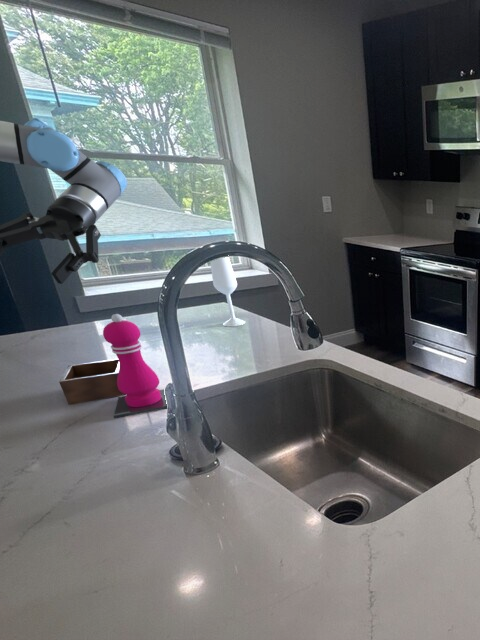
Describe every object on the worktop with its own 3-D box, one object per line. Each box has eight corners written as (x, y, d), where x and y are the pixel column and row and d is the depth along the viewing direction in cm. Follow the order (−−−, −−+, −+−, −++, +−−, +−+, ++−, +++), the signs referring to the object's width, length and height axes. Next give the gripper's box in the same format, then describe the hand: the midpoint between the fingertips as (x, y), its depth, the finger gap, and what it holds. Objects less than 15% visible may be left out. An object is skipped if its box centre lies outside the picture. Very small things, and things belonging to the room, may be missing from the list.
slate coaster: (114, 418, 98) (113, 415, 98) (119, 399, 105) (118, 396, 105) (171, 407, 103) (170, 405, 102) (172, 390, 110) (172, 387, 110)
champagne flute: (230, 327, 151) (212, 252, 141) (218, 323, 154) (200, 249, 144) (250, 322, 157) (234, 249, 146) (238, 319, 160) (222, 246, 149)
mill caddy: (68, 404, 102) (58, 381, 100) (76, 386, 110) (68, 365, 108) (126, 394, 107) (118, 373, 105) (130, 378, 115) (123, 357, 113)
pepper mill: (160, 390, 108) (134, 307, 100) (167, 401, 104) (140, 315, 95) (121, 400, 104) (90, 313, 95) (127, 411, 99) (95, 321, 91)
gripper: (144, 235, 112) (96, 296, 99) (23, 212, 107) (-43, 274, 95) (131, 208, 106) (79, 270, 94) (3, 183, 102) (-70, 244, 89)
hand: (17, 272), depth 94 cm, fingers open, 13 cm apart
